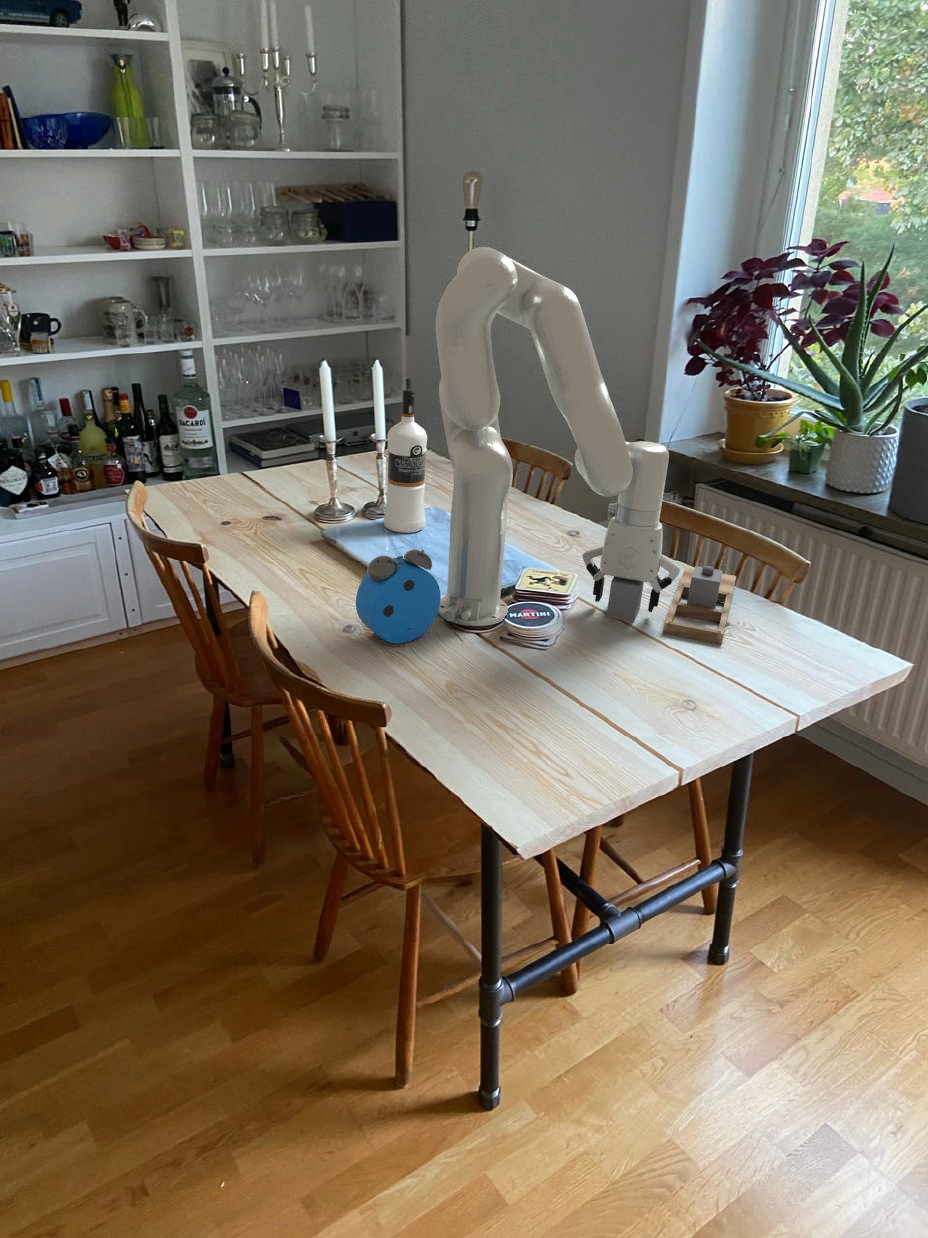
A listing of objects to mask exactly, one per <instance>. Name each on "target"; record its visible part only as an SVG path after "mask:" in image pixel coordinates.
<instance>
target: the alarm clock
mask: <svg viewBox="0 0 928 1238" xmlns="http://www.w3.org/2000/svg"><path fill="white" fill-rule="evenodd" d="M432 568H433V562H432V558H431V557H430V555H428V553H426V552H425V550H424V549H421V550H419V549H411V550H410V549H409V550H408V551H406V553H404V555H400V556H397V557H391V556H390V555H378V556H377V557H374V558H373V559H372V560H371V561H370V562H369V563H368V565H367V568H366V574H365V576H364V577H363V579H362V580H361V582H360V584H359V586H358V588H357V591H356V597H355V608H356V613H357V615H358V616H357V617H358V619H360V621H361V623H362V624H363V625H364V626H365V627H367V629H369V630H370V631H372V632H373V633H372V637H373V638H375V637H376V636H378V637H379V638H381V639H382V640H384V641H386V642H388V643H390V644H405V643H409V642H412V641H414V640H416V639H417V638H419V637H420V636H422V635H423V634H424V633H426V631H427V630H428V629H429V628H430V627H431V625H432V624H433V622H434V621H435V620H436V617H437V615H438V614H439V613H438V610H439V606H440V599H441V598H442V597H441V589H440V586H439V584H438V581H437V580H436V578H435V577H434V575H433V574H431V573H430V572H429V571H431V570H432ZM427 570H428V571H427Z"/></svg>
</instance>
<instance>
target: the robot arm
mask: <svg viewBox="0 0 928 1238" xmlns="http://www.w3.org/2000/svg"><path fill="white" fill-rule="evenodd" d="M496 314H498V315H500V316H502V317H504V318H506V319H508V320H509V321H512V322H513V323H516V324H518V325H520V326H522V327H524V328H527V329H529V331H530V333H531V336H532V337H531V338H532V339H533V343H534V347H535V349H536V351H537V354H538V357H539V360H540V363H541V366H542V370H543V373H544V375H545V378H546V379H545V380H546V381H547V385H548V389H549V391H550V395H551V397H553V401H554V403H555V405H556V407H557V408H558V411H560V413H561V414H562V416H563V419H565V422H566V423H567V425H568V428H569V429H570V432H571V434H572V436H573V438H574V441H575V443H576V445H577V448H576V450H575V454H574V464H575V468H576V470H577V472H578V473H579V474H580V476H581V477H582V478H583V480H584V481H585V482H586V484H587V485H589V487H590V489H592V491H593V492H595V493H596V494H597V495H599V496H603V497H615V496H618V497H617V501H616V502H615V503H608V506H607V511H608V512H612V513H613V515H614V516H613V517H611V518H610V520H609V522H608V526H607V528H606V529H607V530H606V533H605V536H604V537H605V538H604V542H603V545H602V546H600V547H595V548H593V549H590V550H587V551H584V552H583V553H582V560H583V562H584V564H585V566H586V570H587V572H588V573H589V574H590V576H591V577H592V579H593V582H594V583H593V590H592V595H594V596H595V598H594V602H596V603H599V602H601V599H602V598H603V593H604V585H605V576H610V577H613V578H614V577H619V578H624V579H629V580H635V581H641V582H644V583H649V584H650V586H651V587H652V589H651V590H650V591H651V592H650V595H649V596H650V597H649V602H648V608H647V611H648V612H649V613H652V612H653V610H654V607H656V608H657V607H658V605H659V601H660V595H661V591H662V590H664V589H665V588H667V587H669V586H670V585H672V583H673V582H674V581H675V579H677V577H678V576H679V574H680V571H681V569H680V567H678V566H677V565H675V563H673V562H671V561H670V560H668V559H667V558H666V557H663V555H662V552H663V524H662V523H661V522H660V518H661V511H662V506H663V505H662V504H663V498H664V491H665V485H666V480H667V472H668V466H669V460H670V451H669V450H668V448H667V447H666V446H664V445H663V444H660V443H658V442H653V441H652V442H651V441H645V440H644V441H634V442H633V441H632V442H630V441H626V438H625V435H624V432H623V428H622V426H621V422H620V420H619V418H618V415H617V413H616V409H615V407H614V405H613V402H612V400H611V397H610V394H609V391H608V387H607V386H606V383H605V380H604V377H603V375H602V372H601V369H600V365H599V363H598V362H599V361H598V359H597V356H596V353H595V349H594V346H593V343H592V340H591V335H590V333H589V330H588V326H587V323H586V319H585V316H584V313H583V309H582V307H581V304H580V302H579V298H578V297H577V296H576V294H575V293H574V292H573V291H572V290H571V289H570V288H568V287H567V286H565V285H563V284H561V283H559V282H556V281H554V280H553V279H550V278H549V277H546V276H545V275H542V274H540V273H538V272H536V271H535V270H532V269H530V268H528V267H526V266H525V265H523V264H521V263H519V262H518V261H516V260H514V259H513V258H510V257H509V256H507V255H506V254H504V253H503V252H501V251H498V250H497V249H495V248H492V247H488V246H480V247H479V246H478V247H475V248H473V249H471V250H468V252H466V253H465V254H464V255H463V257H462V258H461V259H460V260H459V263H458V266H457V271H456V275H455V276H454V277H453V279H452V280H451V281H449V283H448V285H447V286H446V288H445V290H444V292H443V294H442V296H441V298H440V301H439V303H438V306H437V311H436V315H435V336H436V337H435V338H436V346H437V352H438V353H437V354H438V364H439V369H440V376H441V377H440V381H439V385H438V396H439V403H440V404H439V405H440V411H441V416H442V420H443V421H442V423H443V428H444V433H445V439H446V444H447V449H448V450H447V451H448V456H449V459H450V463H451V465H452V466H451V467H452V471H453V489H452V499H451V507H450V508H451V509H450V522H449V523H450V524H449V529H450V531H449V533H450V534H449V547H448V548H449V550H448V551H449V552H448V565H447V566H448V568H447V584H446V585H447V586H446V587H447V589H446V595H445V596H443V597H441V599H440V606H439V610H438V613H437V614H439V615H440V617H442V618H443V619H445V621H448V622H451V623H454V624H457V625H460V626H465V627H466V626H467V627H487V626H493V625H495V624H499V623H501V622H502V621H504V620H503V618H504V617H505V616H506V615H507V616H508V614H507V613H509V607H508V604H507V603H506V602H505V601H504V600H503V599H501V592H502V581H503V579H502V578H503V571H504V570H503V568H504V557H505V556H504V555H505V554H504V553H505V543H506V532H507V531H506V529H507V520H508V519H507V518H508V517H507V516H508V509H509V503H510V502H509V501H510V495H511V492H512V491H511V490H512V484H513V479H514V478H513V475H514V474H513V473H514V471H513V470H514V469H513V462H512V458H511V455H510V453H509V451H508V449H507V447H506V445H505V444H504V442H503V440H502V436H501V429H500V421H499V415H498V414H499V411H500V406H501V393H500V389H499V385H498V382H497V380H498V379H497V375H496V368H495V363H494V357H493V356H494V355H493V345H492V336H491V332H492V331H491V329H492V323H493V321H494V318H495V317H496ZM597 557H600V562H599V567H598V566H597V565H596V563H595V562H594V560H593V559H594V558H597ZM660 568H663V570H665V571H667V572H668V573H669V574H668V575H667V576H664V578H661V577H660V576H659V574H658V573H659V571H660Z"/></svg>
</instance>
